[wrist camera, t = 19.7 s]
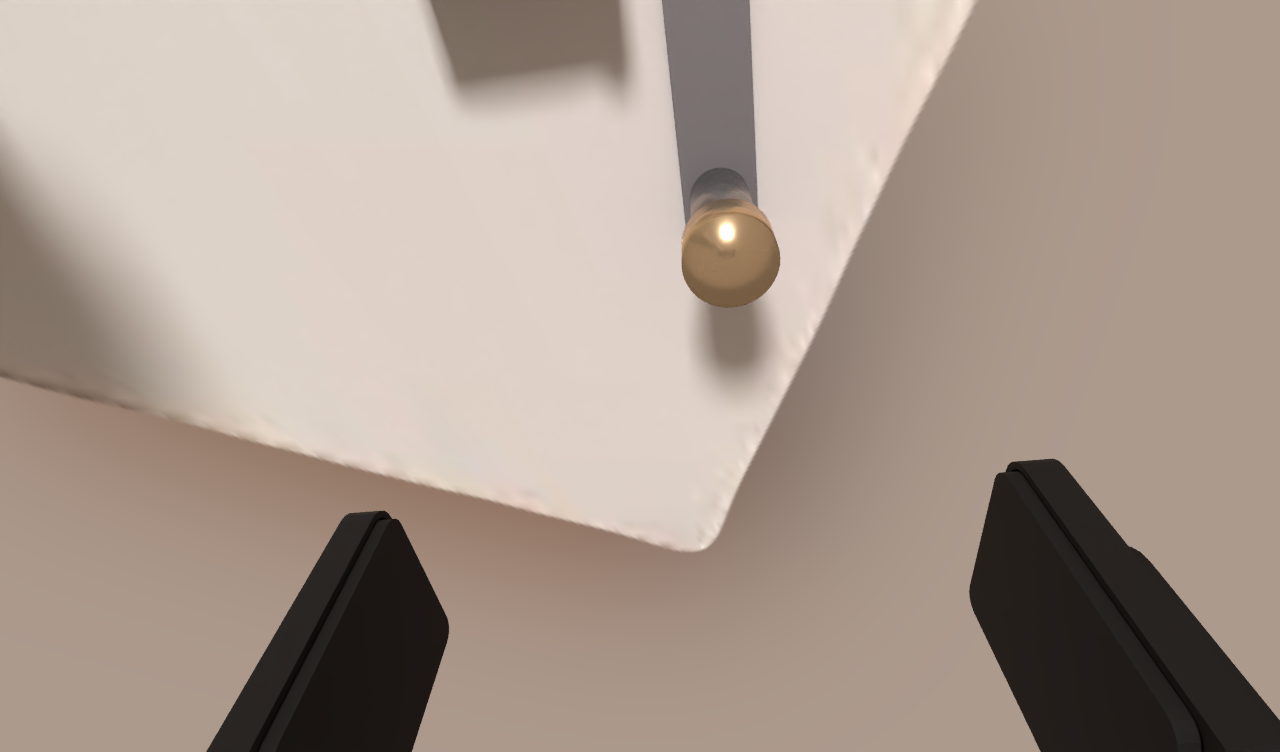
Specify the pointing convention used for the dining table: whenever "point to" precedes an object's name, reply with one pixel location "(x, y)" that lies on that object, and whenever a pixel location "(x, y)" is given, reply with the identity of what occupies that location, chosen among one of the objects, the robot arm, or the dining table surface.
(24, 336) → the dining table surface
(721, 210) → the knob
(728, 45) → the strip
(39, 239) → the dining table surface
